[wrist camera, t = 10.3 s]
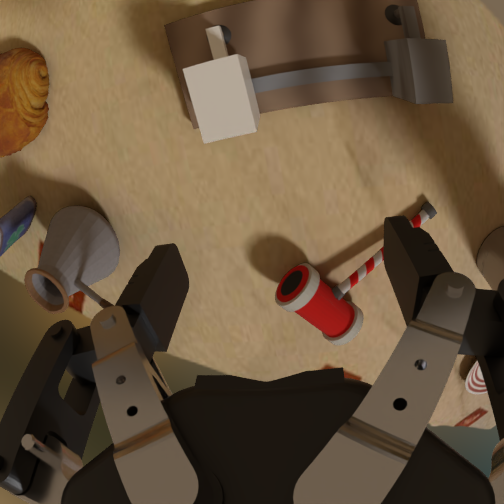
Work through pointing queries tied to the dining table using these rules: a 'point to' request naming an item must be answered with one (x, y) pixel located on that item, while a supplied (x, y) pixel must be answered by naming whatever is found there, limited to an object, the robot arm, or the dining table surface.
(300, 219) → the dining table surface
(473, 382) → the dinner plate
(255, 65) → the base
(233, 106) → the gauge slider
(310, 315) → the toy hammer
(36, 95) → the croissant
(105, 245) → the coffee pot
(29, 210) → the flask
